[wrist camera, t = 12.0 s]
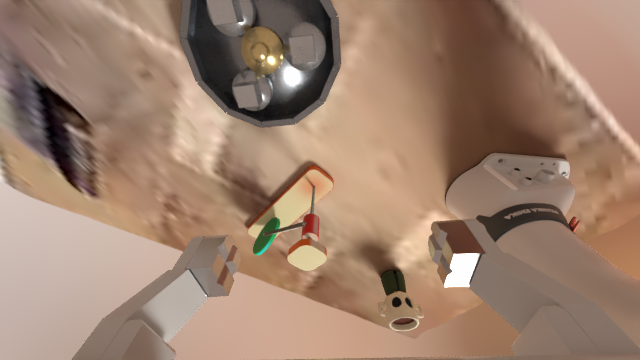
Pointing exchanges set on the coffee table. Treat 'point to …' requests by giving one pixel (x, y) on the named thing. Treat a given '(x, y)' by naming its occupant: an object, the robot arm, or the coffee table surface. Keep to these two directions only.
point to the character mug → (398, 303)
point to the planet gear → (304, 46)
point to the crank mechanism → (287, 211)
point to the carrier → (258, 56)
